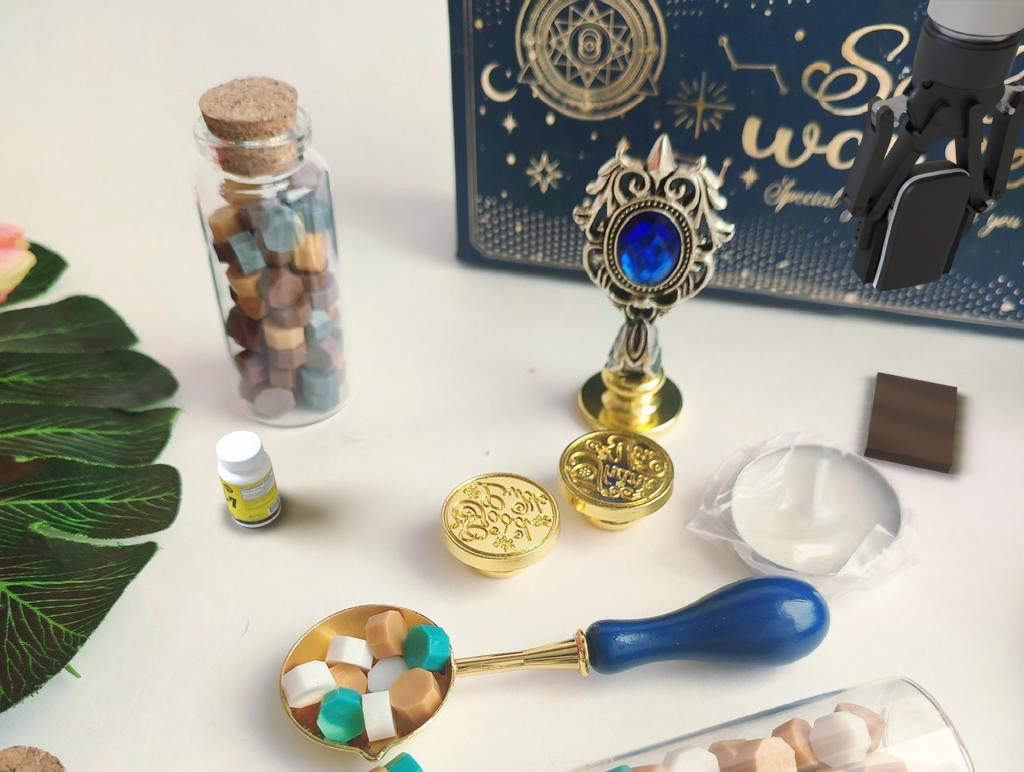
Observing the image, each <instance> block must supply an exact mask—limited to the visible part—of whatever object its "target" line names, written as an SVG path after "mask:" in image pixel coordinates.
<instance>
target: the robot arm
mask: <svg viewBox="0 0 1024 772" xmlns="http://www.w3.org/2000/svg"><path fill="white" fill-rule="evenodd" d="M926 12H927V16H928V17H926V18H925V19H924V20H923V23H922V27H921V30H920V33H919V38H918V41H917V45H916V49H915V53H914V57H913V60H912V73H911V74H912V75H911V78H910V79H909V81H908V83H907V85H906V86H905V87H904V88H903V90H902V92H901V94H900V95H896V96H893V97H890V98H886V99H883V98H882V97H881V96H880V95H875V96H872V97H871V98H870V99H869V100H868V102H867V119H866V120H867V123H866V126H865V128H864V132H863V134H862V137H861V140H860V143H859V145H858V148H857V151H856V154H855V157H854V159H853V161H852V166H851V168H850V170H849V173H848V176H847V179H846V181H845V185H844V187H843V190H842V193H841V195H840V202H841V203H842V204H843V206H844V207H845V208H846V210H847V211H848V213H849V214H850V215H851V216H852V218H856V221H855V225H854V228H853V232H852V237H851V238H852V242H853V244H854V245H855V246H856V251H855V254H854V258H853V261H852V266H851V268H852V270H853V271H854V273H855V274H856V275H857V277H858V278H859V280H860V281H861V283H862V285H867V284H872V283H871V282H872V278H873V275H874V271H875V267H876V264H877V260H878V257H879V253H880V249H881V246H882V242H883V239H884V235H885V232H886V228H887V224H888V220H887V219H886V218H885V217H884V215H883V213H884V211H885V210H886V208H887V207H888V205H889V204H890V202H891V201H892V199H893V197H894V196H895V194H896V193H897V191H898V190H899V188H900V187H901V185H902V183H903V182H904V180H905V179H906V177H907V176H908V174H909V173H910V171H911V169H912V168H913V166H914V165H915V164H917V162H918V160H920V159H919V158H920V157H921V156H922V155H923V154H926V153H928V152H929V150H930V148H931V147H932V146H933V144H934V143H935V142H937V141H940V140H943V139H946V138H950V139H954V151H955V164H956V165H958V166H959V167H960V168H961V169H963V170H965V171H966V172H967V173H968V174H969V176H970V178H971V181H972V187H971V192H970V195H969V198H968V202H967V205H966V208H965V211H964V214H963V217H962V220H961V223H960V225H959V228H958V231H957V233H956V236H955V239H954V241H953V244H952V246H951V249H950V251H949V254H948V257H947V260H946V263H945V266H944V269H943V273H942V275H946V274H950V272H951V269H952V267H953V263H954V260H955V258H956V255H957V252H958V250H959V246H960V244H961V241H962V238H967V237H968V235H969V234H970V233H971V230H972V227H973V224H974V221H975V218H976V215H977V214H978V215H979V214H983V213H984V212H986V211H987V209H988V207H989V204H988V203H987V201H989V200H993V201H999V200H1001V199H1002V198H1003V197H1004V196H1005V194H1006V190H1007V186H1008V182H1009V177H1010V173H1011V169H1012V165H1013V161H1014V156H1015V152H1016V148H1017V143H1018V139H1019V135H1020V131H1021V127H1022V122H1023V120H1024V86H1023V85H1022V84H1021V83H1020V82H1019V81H1017V80H1015V81H1014V80H1013V81H1011V82H1010V83H1008V84H1005V81H1006V80H1007V79H1008V78H1009V77H1010V75H1011V73H1012V70H1013V66H1014V63H1015V60H1016V58H1017V54H1018V51H1019V49H1020V45H1021V42H1022V40H1023V33H1022V30H1024V0H929V2H928V6H927V10H926ZM994 108H995V109H994ZM993 109H994V111H993V114H992V118H991V124H990V127H989V134H988V138H987V143H986V148H985V152H984V157H983V152H982V150H983V149H982V143H984V142H985V141H984V140H985V137H984V136H985V135H984V118H986V117H987V116H988V115H989V113H990V112H991V111H992V110H993ZM904 112H905V113H906V117H905V118H904V119H903V121H902V123H901V124H900V117H901V116H902V114H903V113H904ZM899 125H900V126H899ZM898 126H899V128H898ZM894 128H898V130H897V137H896V139H895V141H894V143H892V146H891V147H890V145H891V142H892V140H893V135H894ZM889 147H890V148H889ZM888 150H889V151H888Z"/></svg>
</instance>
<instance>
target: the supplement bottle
mask: <svg viewBox="0 0 1024 772" xmlns="http://www.w3.org/2000/svg"><path fill="white" fill-rule="evenodd" d="M216 455H217V460H218V463H217V472H218V476H219V480H220V483H221V486H222V490H223V493H224V496H225V500H226V503H227V507H228V510H229V513H230V516H231V519H233V521H234V522H235V523H237V524H238V525H240V526H242V527H244V528H245V527H246V528H259V527H263V526H266V525H268V524H270V523H272V522H273V521H274V520H275V519H276V518H277V517H278V516H279V515H280V512H281V510H282V502H281V497H280V493H279V489H278V484H277V480H276V476H275V472H274V467H273V464H272V463H273V462H272V461H271V457H270V455H269V454H268V453H267V451H266V450H265V448H264V444H263V441H262V439H261V437H260V436H259V435H258V434H257V433H254V432H251V431H249V430H238V431H233V432H230V433H228V434H226V435H224V436H223V437H221V439H220V440H219V441H218V443H217V445H216Z"/></svg>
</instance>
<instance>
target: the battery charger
mask: <svg viewBox="0 0 1024 772" xmlns="http://www.w3.org/2000/svg"><path fill="white" fill-rule="evenodd" d="M971 187H972V181H971V178H970V176H969V174H968V173H967V172H966V171H965V170H963V169H961V168H960V167H959V166H958V165H956V162H954V161H951V160H949V159H939V160H932V161H925V162H920V163H915V165H914V166H913V168H912V169H911V171H910V173H909V174H908V176H907V177H906V179H905V180H904V182H903V183H902V185H901V187H900V188H899V190H898V191H897V193H896V194H895V196H894V197H893V199H892V201H891V202H890V204H889V205H888V207H887V208H886V210H885V211H884V213H883V215H884V217H885V218H886V219H887V220H888V224H887V228H886V232H885V235H884V239H883V242H882V246H881V249H880V253H879V257H878V260H877V264H876V267H875V271H874V275H873V278H872V282H871V283H870V284H872V287H873V288H874V289H875V290H877V291H878V292H880V293H881V292H882V293H883V292H890V291H897V290H902V289H906V288H907V289H908V288H912V287H917V286H922V285H927V284H930V283H934V282H938V281H940V280H941V279H942V276H943V274H942V273H943V269H944V266H945V263H946V260H947V257H948V254H949V251H950V249H951V246H952V244H953V241H954V239H955V236H956V233H957V231H958V228H959V225H960V223H961V220H962V217H963V214H964V211H965V208H966V205H967V202H968V198H969V195H970V192H971Z"/></svg>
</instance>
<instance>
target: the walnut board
mask: <svg viewBox="0 0 1024 772" xmlns="http://www.w3.org/2000/svg"><path fill="white" fill-rule="evenodd" d="M873 384H874V385H873V390H872V391H873V392H872V396H871V397H872V398H871V404H870V412H869V417H868V424H867V429H866V431H867V432H866V436H865V444H864V451H863V457H867V458H872V459H877V460H882V461H887V462H891V463H896V464H901V465H906V466H910V467H914V468H920V469H925V470H928V471H934V472H939V473H944V474H949V473H950V470H951V468H952V465H953V456H954V455H953V453H954V440H955V439H954V438H955V425H956V423H955V422H956V413H957V412H956V411H957V398H958V386H953V385H948V384H944V383H938V382H933V381H928V380H922V379H917V378H911V377H906V376H901V375H895V374H890V373H885V372H881V371H880V372H879V371H877V373H876V376H875V379H874V383H873Z"/></svg>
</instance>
